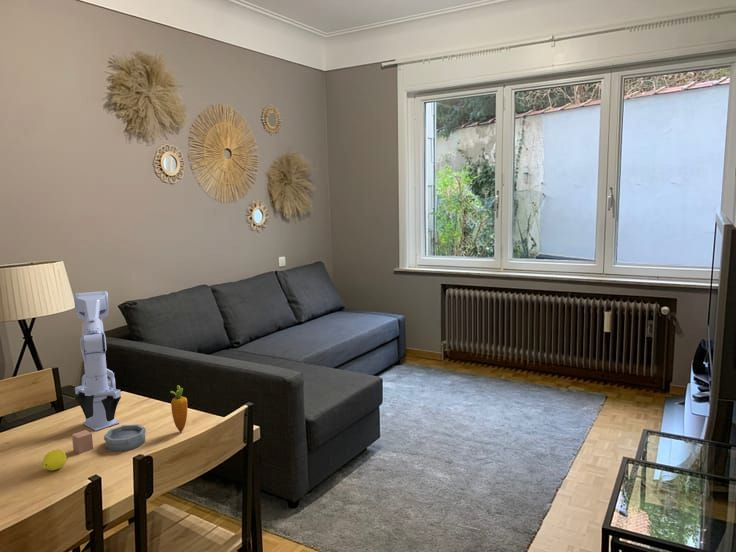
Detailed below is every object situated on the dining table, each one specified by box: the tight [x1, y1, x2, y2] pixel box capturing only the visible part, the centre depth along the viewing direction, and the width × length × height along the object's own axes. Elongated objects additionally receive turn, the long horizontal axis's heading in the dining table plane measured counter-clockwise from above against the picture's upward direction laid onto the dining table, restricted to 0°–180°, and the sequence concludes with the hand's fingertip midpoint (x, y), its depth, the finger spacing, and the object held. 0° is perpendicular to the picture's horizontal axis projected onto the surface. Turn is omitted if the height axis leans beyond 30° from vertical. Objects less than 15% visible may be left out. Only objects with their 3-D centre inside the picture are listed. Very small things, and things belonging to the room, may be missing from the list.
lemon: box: [42, 449, 67, 471], centre depth 150 cm, size 7×5×5 cm
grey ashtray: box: [103, 423, 147, 453], centre depth 166 cm, size 11×11×4 cm
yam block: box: [71, 429, 94, 455], centre depth 162 cm, size 4×4×5 cm
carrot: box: [169, 385, 188, 433], centre depth 172 cm, size 5×5×15 cm
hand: (100, 418), depth 161 cm, fingers open, 7 cm apart
